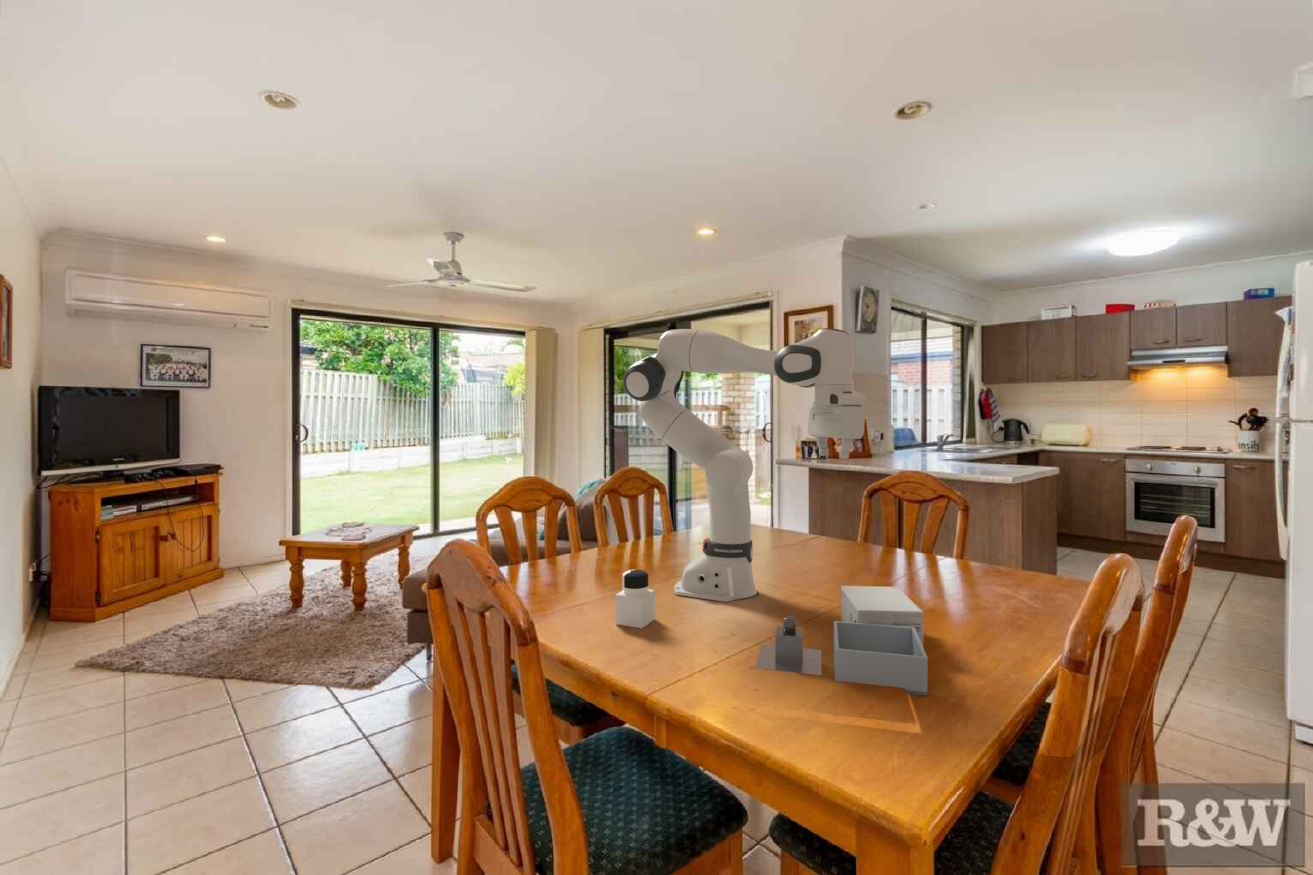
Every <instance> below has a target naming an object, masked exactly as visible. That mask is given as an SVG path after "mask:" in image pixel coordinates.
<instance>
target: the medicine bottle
mask: <svg viewBox="0 0 1313 875" xmlns="http://www.w3.org/2000/svg"><path fill="white" fill-rule="evenodd" d="M614 597H615V600H614V601H615V604H614V605H615V607H614V609H615V612H614V613H615V614H614V615H615V625H618V626H624V627H629V628H635V629H644V628H646V627H647V626H648V625H649V624H650V623H652V622H653V621H655V620H656V590H655V589H650V588H649V573H648V572H647V571H645V570H642V569H629V570H626V571H625V572H623V573H622V590H621V591H619V592H617V593H616V594H615V595H614Z"/></svg>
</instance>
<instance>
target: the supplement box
mask: <svg viewBox="0 0 1313 875" xmlns="http://www.w3.org/2000/svg"><path fill="white" fill-rule="evenodd" d="M840 588H841V590H840V593H841V594H840V598H841V602H840V604H841V605H840V606H841V607H840V620H841V622H853V623H865V624H877V625H890V626H902V627H914V628H915V630H916V632H917V634H918V637H919V639H920V641H921V644H922V646H923V647H924V632H925V631H924V629H925V628H924V626H925V625H924V620H925V618H924V617H925V613H924V611H923V610H922V609H921V608H920V607H919V606H918V605H917V604H916V603H914V601H912V599H911V598H910V597H909V596H908V595H907V594H905V592H904V591H903V590H902V589H901V588H900V586H899V587H898V586H867V585H866V586H865V585H864V586H863V585H841V586H840Z"/></svg>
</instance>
